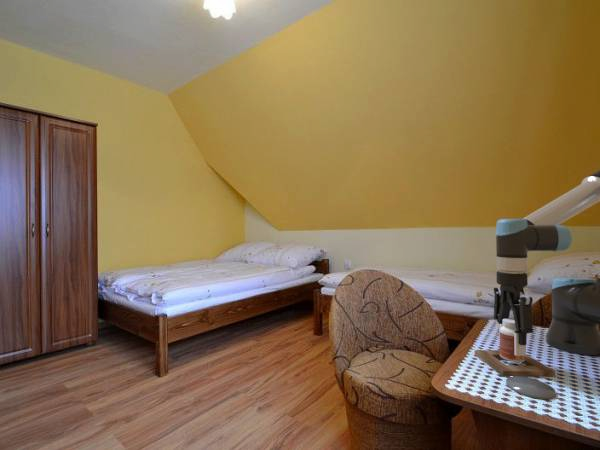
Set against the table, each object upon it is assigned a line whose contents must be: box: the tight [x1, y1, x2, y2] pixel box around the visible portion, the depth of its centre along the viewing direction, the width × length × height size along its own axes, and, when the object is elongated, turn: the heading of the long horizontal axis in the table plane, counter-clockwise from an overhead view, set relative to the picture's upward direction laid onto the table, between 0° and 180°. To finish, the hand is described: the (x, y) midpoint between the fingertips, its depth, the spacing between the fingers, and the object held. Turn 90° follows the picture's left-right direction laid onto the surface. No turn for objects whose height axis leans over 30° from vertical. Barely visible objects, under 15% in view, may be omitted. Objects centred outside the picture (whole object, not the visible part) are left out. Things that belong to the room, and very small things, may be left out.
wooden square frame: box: [474, 349, 556, 378], centre depth 91 cm, size 14×14×2 cm
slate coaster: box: [505, 376, 557, 400], centre depth 78 cm, size 10×10×1 cm
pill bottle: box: [499, 318, 525, 363], centre depth 91 cm, size 6×6×11 cm
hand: (512, 350), depth 91 cm, fingers closed on pill bottle, 6 cm apart
